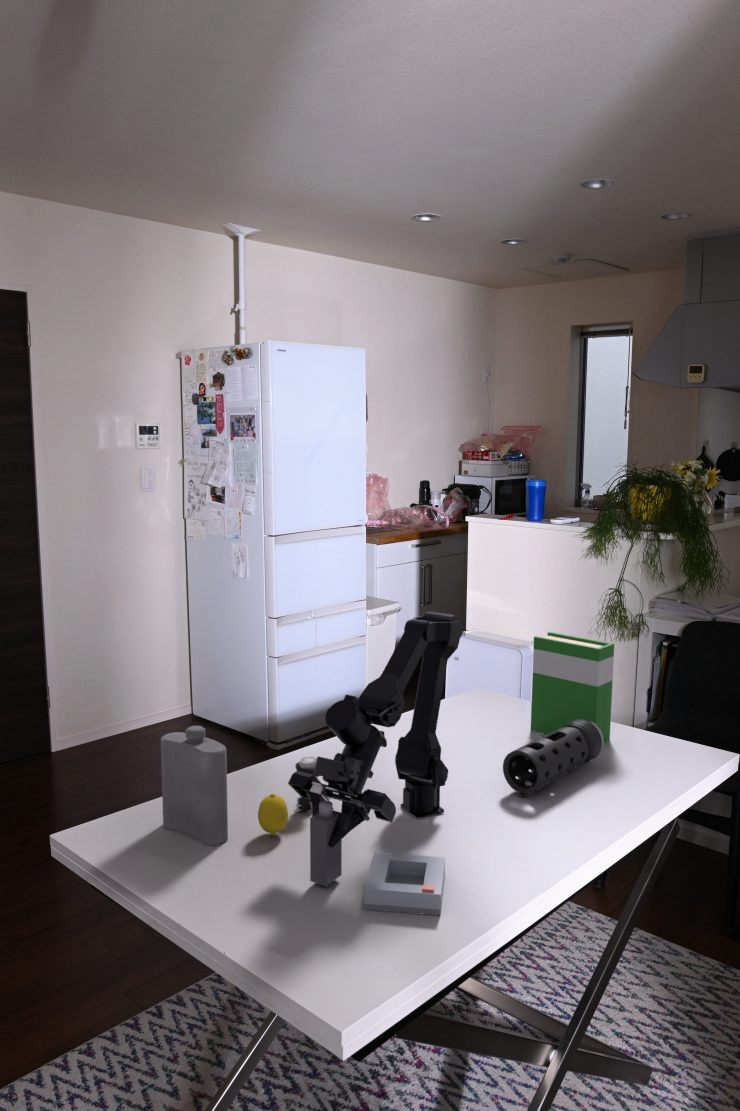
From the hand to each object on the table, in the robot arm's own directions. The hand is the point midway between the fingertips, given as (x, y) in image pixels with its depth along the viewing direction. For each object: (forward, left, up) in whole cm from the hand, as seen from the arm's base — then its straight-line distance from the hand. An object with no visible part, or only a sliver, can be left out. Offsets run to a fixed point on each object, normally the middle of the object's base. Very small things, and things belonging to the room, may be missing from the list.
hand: (321, 843), depth 143 cm
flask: (+12, -29, -8) cm, 32 cm away
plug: (-1, -1, -7) cm, 7 cm away
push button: (-10, -28, -8) cm, 30 cm away
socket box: (-11, +8, -7) cm, 16 cm away
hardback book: (-85, -36, -8) cm, 93 cm away
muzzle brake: (-64, -17, -8) cm, 67 cm away
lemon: (0, -21, -8) cm, 22 cm away
